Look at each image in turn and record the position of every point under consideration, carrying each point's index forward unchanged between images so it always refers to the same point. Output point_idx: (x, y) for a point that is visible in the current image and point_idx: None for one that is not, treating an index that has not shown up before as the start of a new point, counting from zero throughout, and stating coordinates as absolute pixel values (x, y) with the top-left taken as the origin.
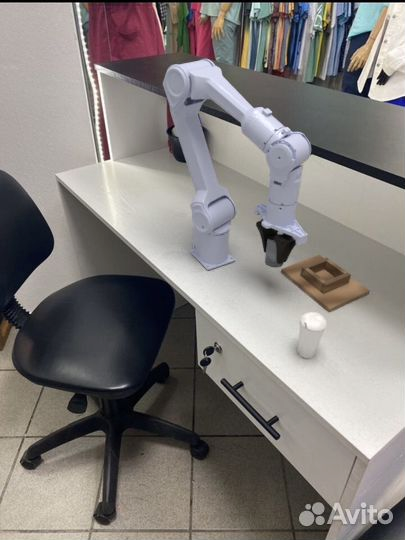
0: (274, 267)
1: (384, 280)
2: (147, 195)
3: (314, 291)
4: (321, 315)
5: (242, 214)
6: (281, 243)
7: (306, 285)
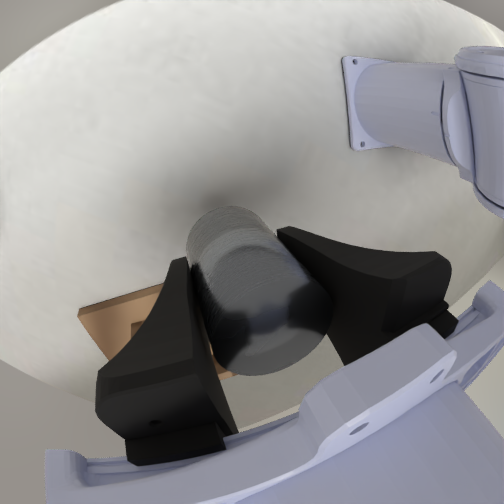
0: (189, 235)
1: None
2: None
3: (143, 309)
4: None
5: (448, 243)
6: (99, 382)
7: None
